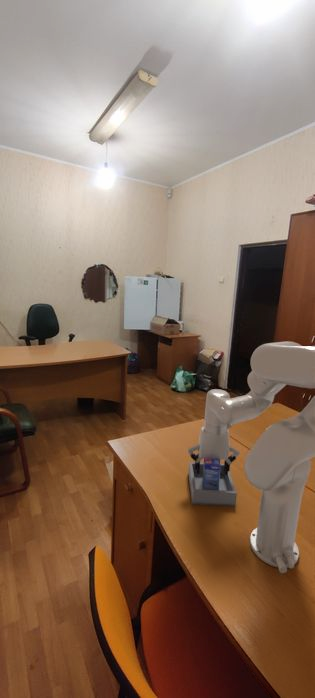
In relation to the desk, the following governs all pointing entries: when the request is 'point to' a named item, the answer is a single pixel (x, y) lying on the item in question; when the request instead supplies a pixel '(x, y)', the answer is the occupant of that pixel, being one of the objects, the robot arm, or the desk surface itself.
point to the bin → (211, 497)
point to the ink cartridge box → (211, 474)
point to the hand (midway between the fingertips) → (211, 471)
